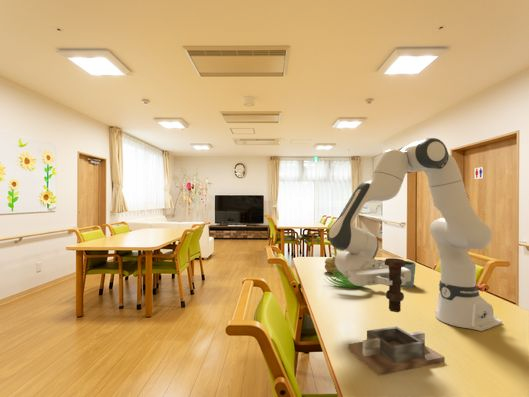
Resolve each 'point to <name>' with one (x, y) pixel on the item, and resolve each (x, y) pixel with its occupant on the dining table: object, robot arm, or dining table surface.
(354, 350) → the square frame on board
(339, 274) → the decorative plant
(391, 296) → the bolt
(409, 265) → the blue gray cup
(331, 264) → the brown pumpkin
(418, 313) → the dining table surface
